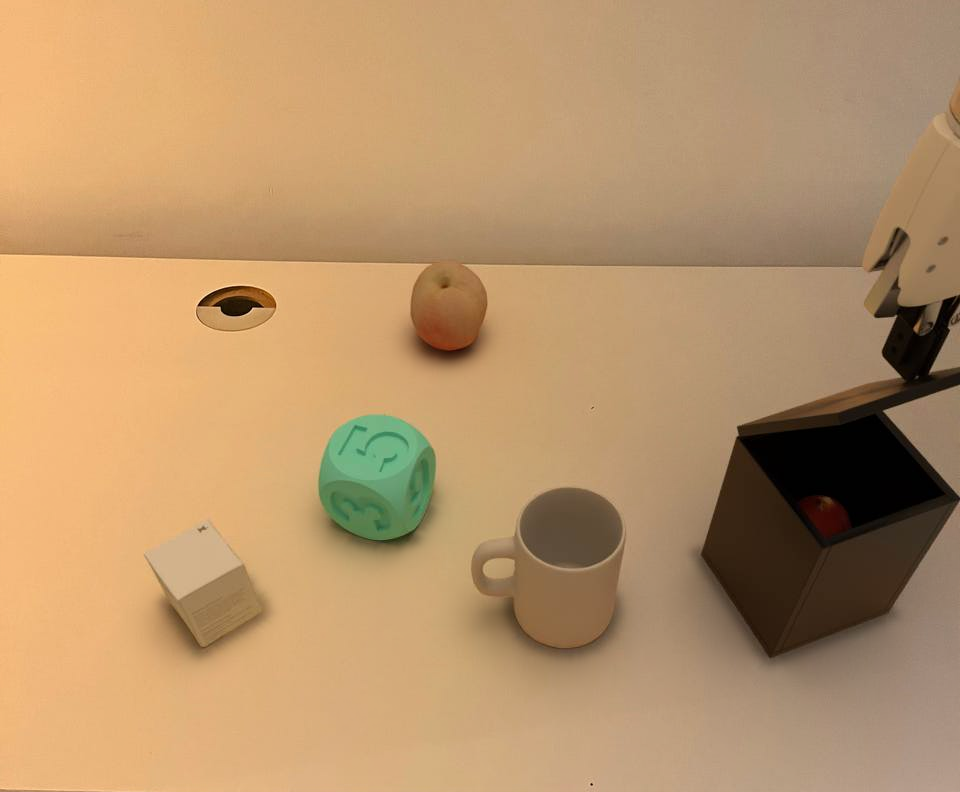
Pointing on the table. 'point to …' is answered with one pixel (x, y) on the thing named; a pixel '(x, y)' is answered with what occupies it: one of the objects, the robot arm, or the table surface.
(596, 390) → the table surface
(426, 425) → the table surface
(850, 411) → the lid
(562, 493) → the mug
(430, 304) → the fruit
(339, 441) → the decorative dice
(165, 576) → the product box
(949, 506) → the dark wooden storage box
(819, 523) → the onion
